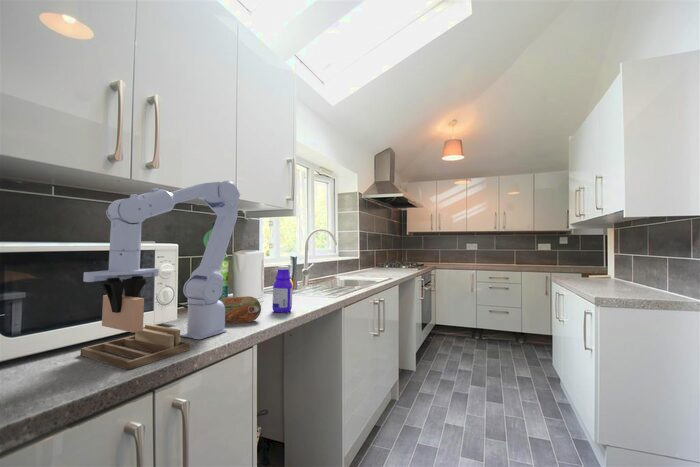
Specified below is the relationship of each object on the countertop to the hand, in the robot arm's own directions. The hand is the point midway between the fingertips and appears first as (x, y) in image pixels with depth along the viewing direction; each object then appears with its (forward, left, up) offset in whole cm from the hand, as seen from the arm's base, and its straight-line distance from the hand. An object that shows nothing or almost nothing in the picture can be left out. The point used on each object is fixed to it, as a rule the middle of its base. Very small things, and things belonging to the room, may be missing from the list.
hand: (122, 311), depth 69 cm
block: (0, 0, -4) cm, 4 cm away
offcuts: (-7, +1, -10) cm, 12 cm away
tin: (-34, 0, -10) cm, 36 cm away
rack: (-3, +1, -10) cm, 11 cm away
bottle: (-54, +3, -10) cm, 56 cm away
